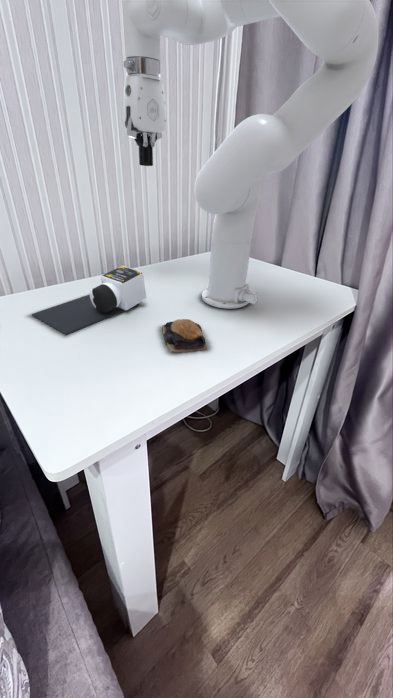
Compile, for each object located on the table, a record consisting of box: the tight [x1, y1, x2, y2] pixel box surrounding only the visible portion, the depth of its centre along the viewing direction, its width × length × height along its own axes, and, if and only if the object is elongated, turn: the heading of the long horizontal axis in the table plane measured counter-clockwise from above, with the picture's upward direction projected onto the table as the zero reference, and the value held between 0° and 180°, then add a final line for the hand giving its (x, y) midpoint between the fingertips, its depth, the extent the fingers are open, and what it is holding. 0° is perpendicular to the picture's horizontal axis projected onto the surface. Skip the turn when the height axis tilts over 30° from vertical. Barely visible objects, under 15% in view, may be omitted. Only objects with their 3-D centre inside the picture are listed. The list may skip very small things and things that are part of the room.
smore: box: [161, 318, 208, 354], centre depth 68 cm, size 11×8×4 cm
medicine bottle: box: [89, 265, 147, 313], centre depth 78 cm, size 7×7×12 cm
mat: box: [31, 294, 139, 336], centre depth 78 cm, size 13×20×1 cm, turn 142°
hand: (146, 165), depth 83 cm, fingers closed
